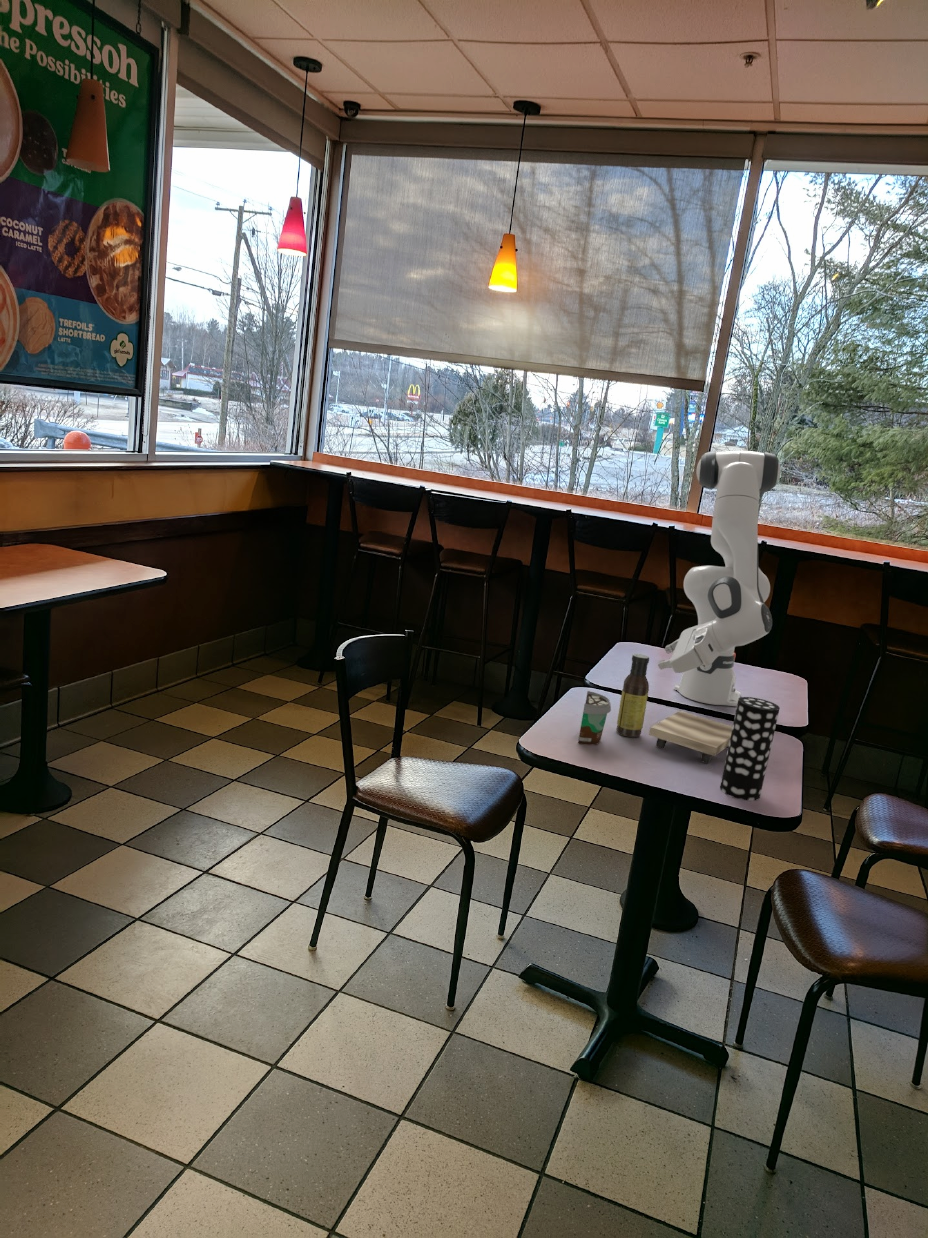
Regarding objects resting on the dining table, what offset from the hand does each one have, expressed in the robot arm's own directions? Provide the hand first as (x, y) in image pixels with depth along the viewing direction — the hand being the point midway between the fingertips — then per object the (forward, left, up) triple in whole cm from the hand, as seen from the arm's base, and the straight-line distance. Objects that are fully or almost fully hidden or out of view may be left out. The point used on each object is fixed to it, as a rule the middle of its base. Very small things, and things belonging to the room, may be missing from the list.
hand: (662, 658), depth 231 cm
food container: (+36, -1, -15) cm, 39 cm away
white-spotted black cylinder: (+38, +35, -15) cm, 54 cm away
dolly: (+19, +18, -15) cm, 30 cm away
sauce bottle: (+24, +3, -15) cm, 29 cm away
